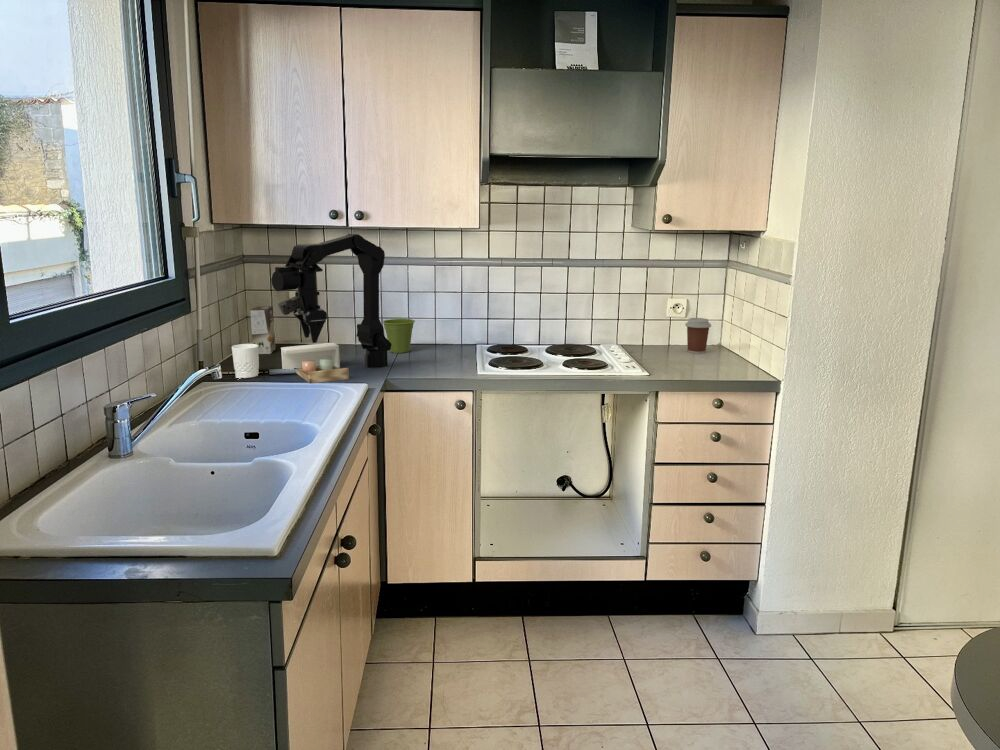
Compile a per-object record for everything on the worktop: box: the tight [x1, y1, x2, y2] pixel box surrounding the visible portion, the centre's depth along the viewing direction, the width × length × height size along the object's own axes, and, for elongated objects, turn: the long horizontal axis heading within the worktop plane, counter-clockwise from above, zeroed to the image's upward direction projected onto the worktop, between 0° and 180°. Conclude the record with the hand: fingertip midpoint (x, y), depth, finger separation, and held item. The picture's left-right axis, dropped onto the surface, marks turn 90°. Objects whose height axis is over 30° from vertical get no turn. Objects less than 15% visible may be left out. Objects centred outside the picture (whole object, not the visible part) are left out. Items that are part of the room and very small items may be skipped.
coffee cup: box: [684, 317, 712, 354], centre depth 274 cm, size 9×9×12 cm
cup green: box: [319, 358, 333, 371], centre depth 238 cm, size 4×4×4 cm
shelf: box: [280, 342, 341, 370], centre depth 242 cm, size 17×6×8 cm, turn 120°
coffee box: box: [249, 305, 276, 355], centre depth 271 cm, size 9×6×16 cm
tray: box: [295, 365, 350, 384], centre depth 233 cm, size 12×15×4 cm
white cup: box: [231, 343, 260, 380], centre depth 233 cm, size 8×8×10 cm
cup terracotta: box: [301, 360, 316, 375], centre depth 235 cm, size 4×4×4 cm
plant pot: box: [381, 318, 416, 354], centre depth 273 cm, size 12×12×11 cm
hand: (310, 340), depth 225 cm, fingers open, 9 cm apart
